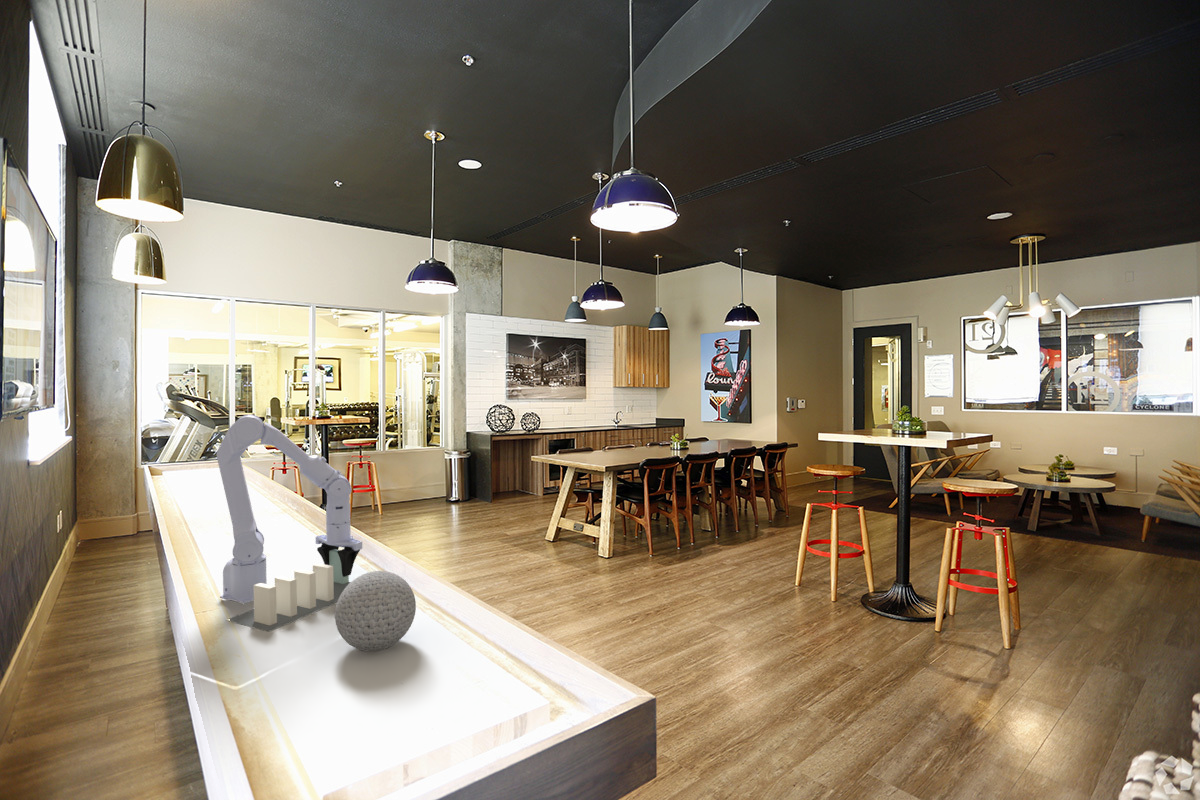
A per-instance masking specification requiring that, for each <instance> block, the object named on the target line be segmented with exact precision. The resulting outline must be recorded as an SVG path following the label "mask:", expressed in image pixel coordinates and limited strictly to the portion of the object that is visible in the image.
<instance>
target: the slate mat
mask: <svg viewBox="0 0 1200 800" xmlns="http://www.w3.org/2000/svg"><path fill="white" fill-rule="evenodd" d="M351 582H352V581H349V582H348V583H345V584H341V583H336V582H334V599H333V600H330V601H325V600H320V599H316V607H313V608H311V609H309V608H304V607H300V606H297V614H296V615H294V616H292V617H289V616H285V615H281V614H277V623H275V624H272V625H266V624H262V623H259V622H255V621H254V608H252V609H251V610H247V611H245V612H242V613H239V614H236V615H234V616H232V617H231V616H230V617H229V618H228V619H230V621H231V623H234V624H238V625H241V626H246V627H249V628H252V629H257V630H260V631H263V632H266V633H267V632H272V631H273V630H274V631H275V630H277V629H278V628H281V627H284V626H286V625H288V624H290V623H292V622H295V621H297V620H299V619H301V618H304V617H308V616H309V615H312V614H313V613H316V612H318V611H322V610H324V609H325V608H328V607H331V606H333V605H335V604H337V602H338V599H339V597H340V595H341V593H342V592H343V590H344V589H345V588H346V587H347V585H348V584H349V583H351ZM230 621H229V622H230Z"/></svg>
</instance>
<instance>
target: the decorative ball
mask: <svg viewBox="0 0 1200 800" xmlns="http://www.w3.org/2000/svg"><path fill="white" fill-rule="evenodd" d="M350 582H351V583H349V584H348V585H347V587H346V588H345V589H344V590H343V592H342V593H341V595H340V597H339V599H338V602H337V603H336V605H335V610H334V620H335V626H336V628H337V631H338V633H339V635H340V636H341V639H343V641H345V642H346V643H347V644H348V645H349V646H351V647H353V648H355V649H357V650H360V651H367V652H368V651H369V652H375V651H380V650H381V651H382V650H384V649H387V648H390V647H391V646H393V645H395V644H396V643H397V642H399V641H400V640H401V639H403V637H404V636H405V635H406V634H407V632H408V631H409V630H410V628H411V627H412V625H413V622H414V619H415V615H416V608H417V605H416V603H417V602H416V597H415V593H414V592H413V589H412V588H411V585H410V584H409V583H408V582H407V581H406V579H404V578H403V577H401V576H400V575H398V574H397V573H394V572H392V571H387V570H386V571H385V570H373V571H370V572H369V571H368V572H366V573H364V574H361V575H359V576H357V577H356V578H354V579H353V580H352V581H350Z"/></svg>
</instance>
